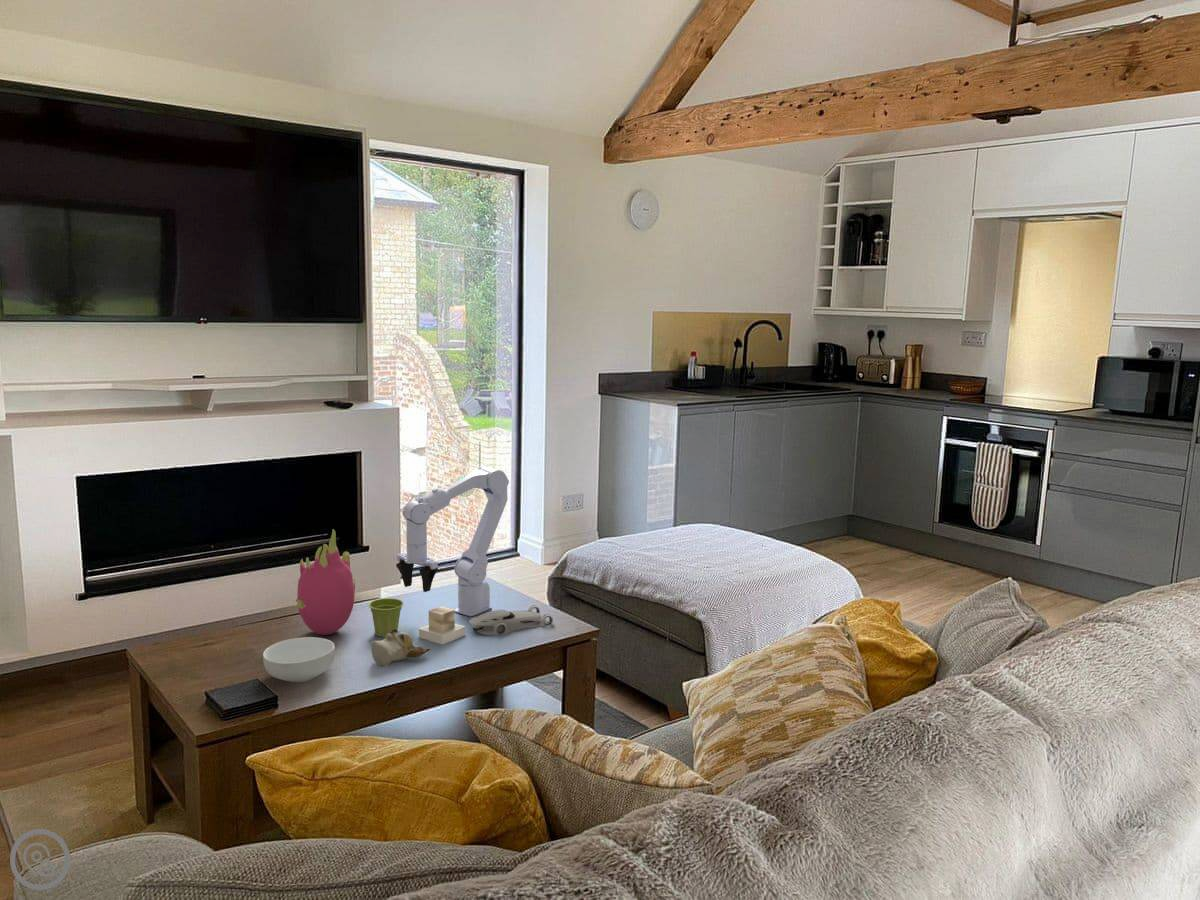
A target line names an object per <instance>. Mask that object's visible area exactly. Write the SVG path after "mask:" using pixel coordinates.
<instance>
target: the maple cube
mask: <svg viewBox="0 0 1200 900" xmlns="http://www.w3.org/2000/svg"><path fill="white" fill-rule="evenodd" d="M453 609H454V608H451V607H450V608H449V607H446V606H442V605H441V606H438V607H435V608H433V609H430V610H428V625H429V628H430V629H433V630H436V631H440V632H443V631H446V630H449V629H451V628H454V627H455V624H456V623H455V621H456V620H455V619H456V618H455V613H456V612H455V610H453Z"/></svg>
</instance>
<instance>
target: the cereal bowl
mask: <svg viewBox="0 0 1200 900" xmlns="http://www.w3.org/2000/svg"><path fill="white" fill-rule="evenodd" d="M335 649H336V648H335V643H334V642H333V641H331V640H329V639H327V638H323V637H314V636H307V637H295V638H289V639H285V640H282V641H278V642H276V643H274V644H271V645H270V646H268V647H266V648H265V650H264V651H263V653H262V661H263V665H264V669H265V670H266V672H267V673H268V674H269V675H270V676H271V677H273V678H275V679H279V680H281V681H282V680H283V681H286V682H288V681H289V683H302V682H308V681H311V680H314V679H315V678H316V677H317V676H318V675H321V674H323V673H324V672H326V671H327V670H329V668H330V667H331V666H332V664H333V662H334V659H335V654H336V652H335V651H336V650H335Z"/></svg>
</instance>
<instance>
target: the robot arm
mask: <svg viewBox="0 0 1200 900" xmlns="http://www.w3.org/2000/svg"><path fill="white" fill-rule="evenodd" d="M509 483H510V480H509V479H508V476H507V475H506V473H505V472H504V471H503V470H500V469H495V468H493V467H490V466H489V465H481V466H479V467H478V468H476V469H475V468H474V469H472V471H471V472H470V473H469V474H467V475H465V476H464V477H462V478H461V479H459V480H457V481H456V482H454V483H452V484H451V485H450V486H448V487H447V488H444V489H443V488H440V487H439V488H436V487H435V488H432V489H431V492H429V493H428V494H426V495H423V496H420V497H418V498H417V500H410V501H409V502H407V503H406V504H405V506H404V508H403V510H402V511H401V512H402V516H403V517H404V519H405V521H406V530H405V531H406V553H404V552H400V553H397V554H396V561H397V562H398V563H395V564H396V565H395V566H396V568H397V570H398V571H399V573H400V576H401V578H402V583H403V585H404V588H407V587H411V586H412V583H413V570H414V566H415V565H417V566H421V567H422V568H419V569H418V571H419V573H420V577H421V579H422V580H421V581H422V583H421V584H422V592H423V593H428V592H430V591H431V590H432V589H431V588H432V584H433V580H434V578H435V575H436V574H437V572H438V570H439V566H438V565H439V564H438V561H437V560H434V559H432V558H430V557H428V545H427V544H428V542H427V541H428V537H427V536H428V533H427V531H428V530H427V529H428V528H427V527H428V526H427V522H428V521H429V519H430V517H431V516H432V515H434V514H436V513H438V512H439V511H441V510H443V509H444V508H447V507H448V506H450V503H451V500H453V499H454V498H456V497H459V496H460V495H463V494H465V493H466V492H468V491H470V490H472V489H482V491H483V492H484V494H485V496H486V498H487V502H486V505H485V508H484V510H483V513H482V515H481V517H480V519H479V522H478V525H477V528H476V530H475V533H474V534H473V538H472V539H471V542H470V544H469V547H468V549H466V550H464V551H463V552H462V554H461V556H460V557H459V559H458V560H456V562H455V565H454V573H455V575H456V576H457V584H458V585H457V587H458V588H457V589H458V591H457V593H458V594H457V596H458V600H457V601H458V602H457V603H458V604H457V605H458V607H455V608H452V609H453V610H455V613H457V614H462V615H464V616H469V617H474V616H476V615H478V614H481V613H485V612H487V611H489V610H491V609H492V608H493V607H492V606H490V605H491V604H490V603H491V602H490V597H491V596H490V595H491V593H490V592H491V590H490V589H491V588H490V584H489V582H488V581H487V580H486V577H487V568H488V567H487V566H488V565H489V562H488V558H487V554H488V550H489V548H490V545H491V543H492V541H493V538H494V535H495V533H496V530H497V528H498V525H499V523H500V520H501V518H502V516H503V512H504V510H505V508H506V505H507V502H508V486H509Z"/></svg>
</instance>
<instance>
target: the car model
mask: <svg viewBox="0 0 1200 900" xmlns="http://www.w3.org/2000/svg"><path fill="white" fill-rule="evenodd" d="M534 609H535V610H536V611H534ZM547 618H549V619H547ZM553 622H554V618H553V615H551V614H550V613H545V614H543V615H541V610H540V607H539V606H538V605H534V604H533V605H530V606H529V607H528V609H527V610H510V611H508V610H505V609H496V610H492V611H484V612H482V614H481V615H478V616H475V617H473V618H471V619H469V623H470V624H471V627H472V628H473V629H474V630H478V631H477V633H478V634H480V635H483V636H502V635H506V634H508V633H511V632H516V631H520V630H525V629H530V628H538V627H548V625H549V626H552V625H553ZM501 634H502V635H501Z"/></svg>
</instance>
